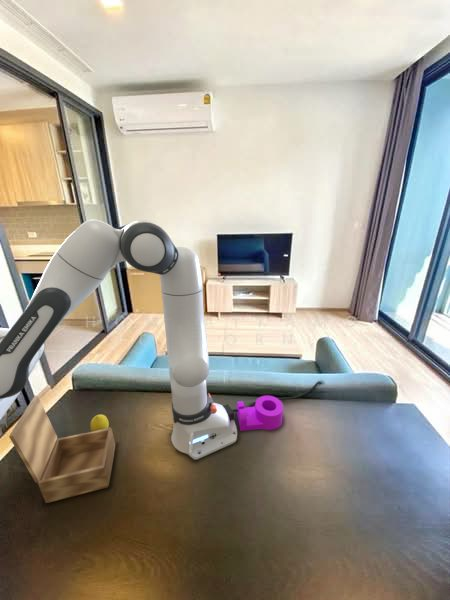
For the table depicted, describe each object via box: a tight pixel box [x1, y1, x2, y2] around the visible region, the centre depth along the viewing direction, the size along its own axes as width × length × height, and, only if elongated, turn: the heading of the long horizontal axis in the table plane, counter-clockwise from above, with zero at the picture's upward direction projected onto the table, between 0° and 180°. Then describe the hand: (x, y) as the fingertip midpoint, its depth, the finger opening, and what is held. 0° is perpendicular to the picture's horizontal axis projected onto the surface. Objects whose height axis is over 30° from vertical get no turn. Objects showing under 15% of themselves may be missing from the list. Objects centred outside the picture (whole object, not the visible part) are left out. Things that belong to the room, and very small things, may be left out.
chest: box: [37, 427, 116, 504], centre depth 73 cm, size 16×14×8 cm
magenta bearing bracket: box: [236, 395, 284, 432], centre depth 91 cm, size 16×10×6 cm, turn 96°
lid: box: [8, 395, 58, 484], centre depth 66 cm, size 16×14×1 cm
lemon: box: [90, 414, 110, 432], centre depth 85 cm, size 6×6×8 cm
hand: (1, 432), depth 63 cm, fingers closed
